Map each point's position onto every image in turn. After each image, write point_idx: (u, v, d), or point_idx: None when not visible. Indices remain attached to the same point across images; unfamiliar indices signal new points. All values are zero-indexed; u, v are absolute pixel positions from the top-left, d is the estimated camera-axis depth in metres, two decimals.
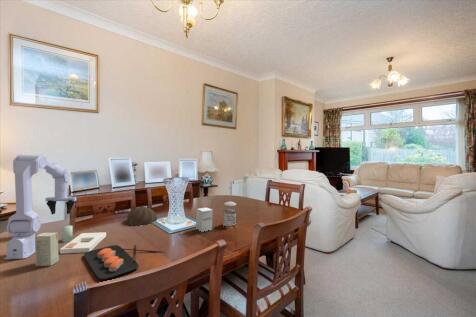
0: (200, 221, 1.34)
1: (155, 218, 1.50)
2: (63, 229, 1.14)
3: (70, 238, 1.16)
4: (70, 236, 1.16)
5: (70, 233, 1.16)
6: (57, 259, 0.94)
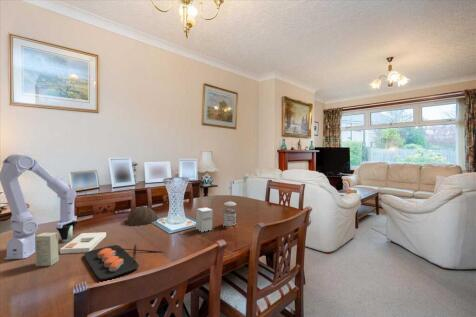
0: (200, 221, 1.33)
1: (155, 218, 1.50)
2: None
3: (70, 238, 1.16)
4: (70, 236, 1.16)
5: (70, 233, 1.16)
6: (57, 259, 0.94)
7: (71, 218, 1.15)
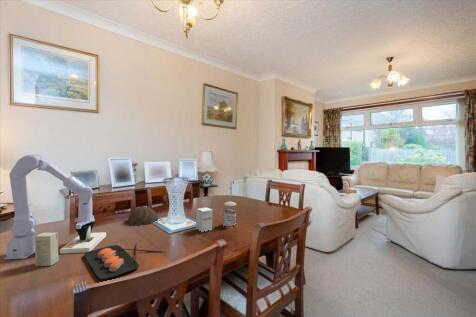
0: (200, 221, 1.34)
1: (156, 218, 1.50)
2: None
3: (88, 239, 1.12)
4: (88, 237, 1.12)
5: (88, 234, 1.12)
6: (57, 259, 0.94)
7: (89, 218, 1.11)
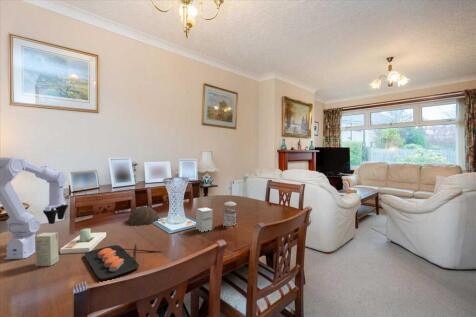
0: (200, 221, 1.34)
1: (156, 218, 1.50)
2: (81, 232, 1.10)
3: None
4: (88, 239, 1.12)
5: (88, 237, 1.12)
6: (57, 259, 0.94)
7: (60, 202, 1.16)
